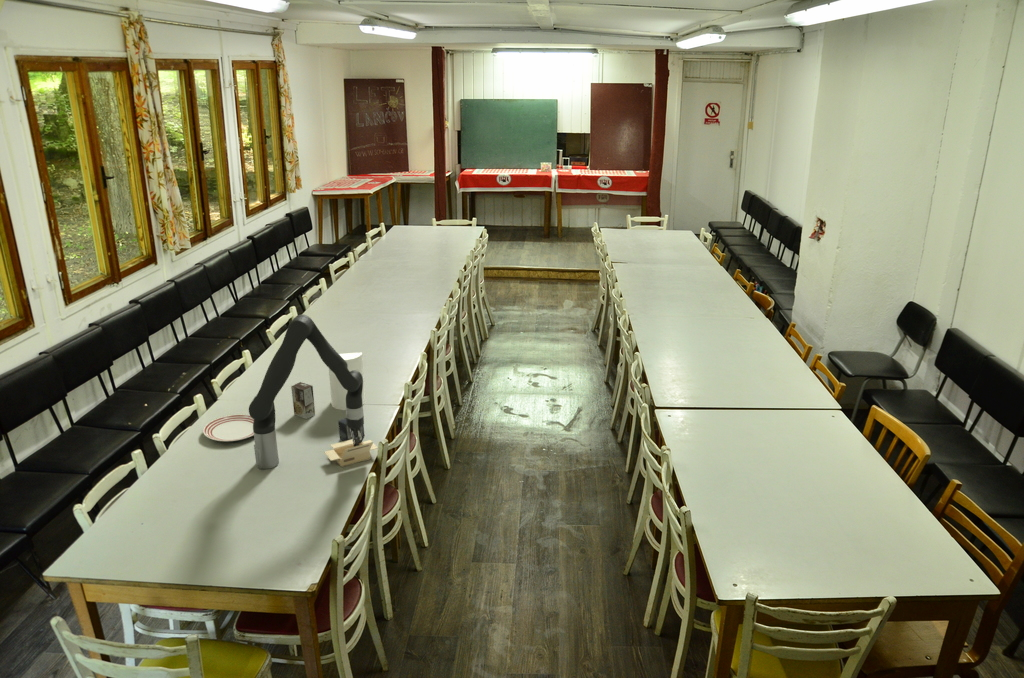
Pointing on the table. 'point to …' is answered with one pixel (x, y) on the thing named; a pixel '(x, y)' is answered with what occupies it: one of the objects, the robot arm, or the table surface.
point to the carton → (338, 453)
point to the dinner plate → (230, 428)
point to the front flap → (357, 450)
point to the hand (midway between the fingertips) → (356, 449)
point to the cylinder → (337, 389)
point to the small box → (346, 430)
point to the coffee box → (303, 400)
